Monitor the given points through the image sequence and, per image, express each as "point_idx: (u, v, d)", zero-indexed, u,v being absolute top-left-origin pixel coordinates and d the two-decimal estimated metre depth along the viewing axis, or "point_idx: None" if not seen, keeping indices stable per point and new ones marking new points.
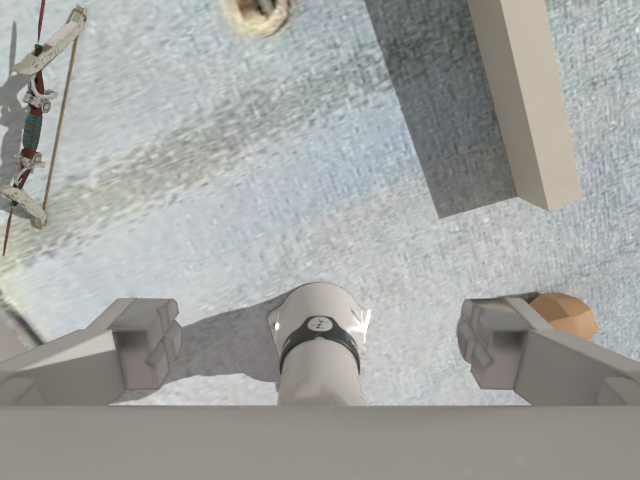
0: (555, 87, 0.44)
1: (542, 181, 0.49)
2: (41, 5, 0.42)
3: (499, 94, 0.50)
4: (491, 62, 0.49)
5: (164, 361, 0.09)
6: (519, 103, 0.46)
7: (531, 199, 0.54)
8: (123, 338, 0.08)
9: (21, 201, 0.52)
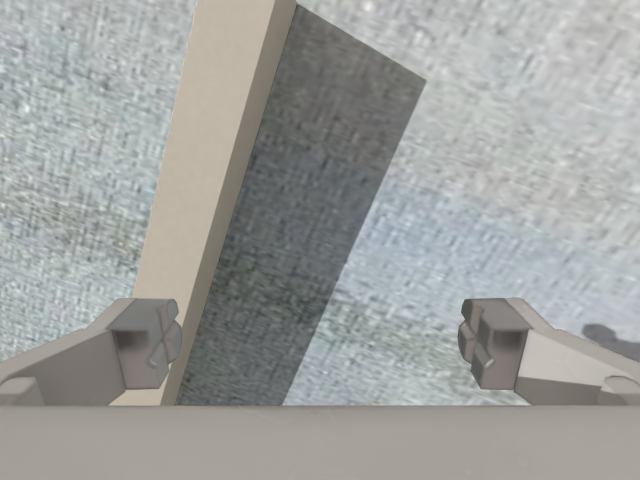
0: (166, 183, 0.27)
1: (260, 46, 0.23)
2: None
3: (234, 194, 0.33)
4: (220, 237, 0.34)
5: (164, 361, 0.09)
6: (222, 195, 0.28)
7: None
8: (123, 338, 0.08)
9: None
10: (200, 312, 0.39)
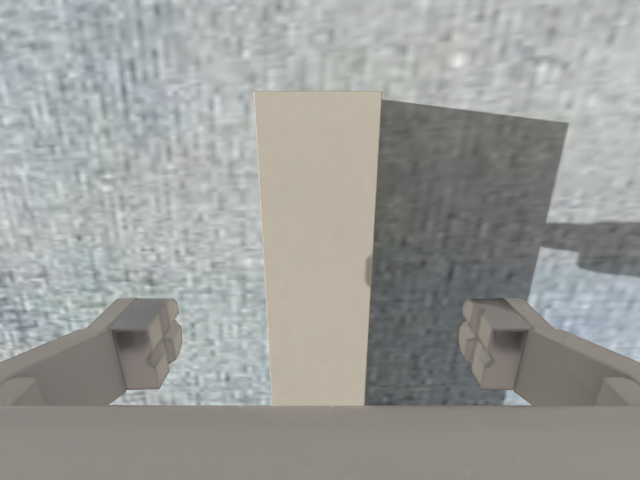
0: None
1: (372, 215, 0.14)
2: None
3: None
4: None
5: (164, 361, 0.09)
6: None
7: None
8: (123, 338, 0.08)
9: None
10: None
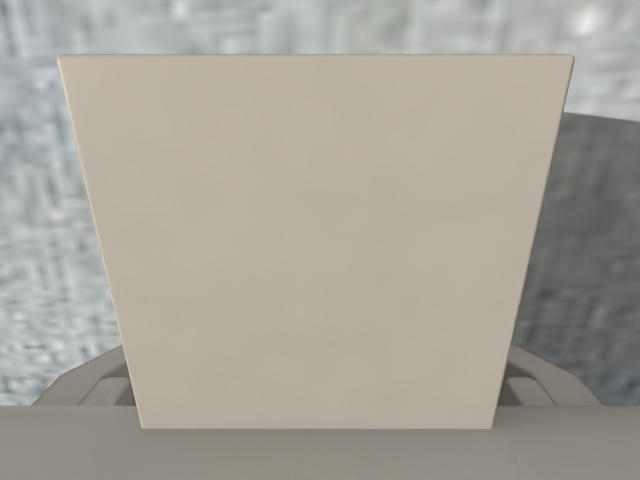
0: None
1: None
2: None
3: None
4: None
5: None
6: None
7: None
8: None
9: None
10: None
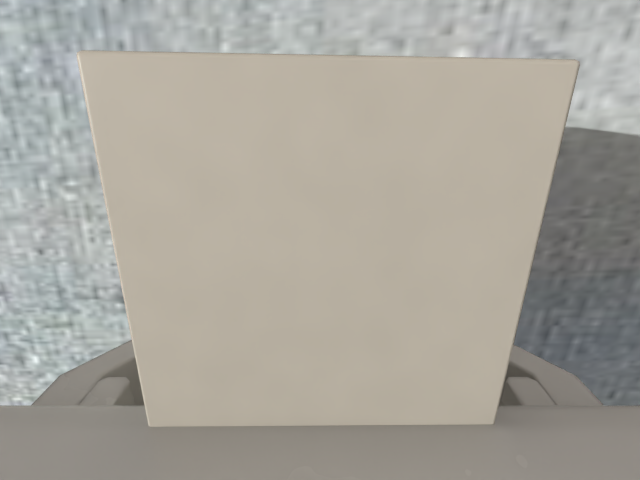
0: None
1: None
2: None
3: None
4: None
5: None
6: None
7: None
8: None
9: None
10: None
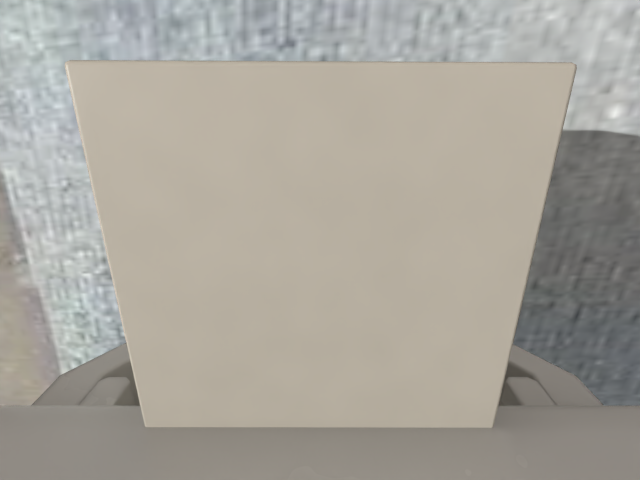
0: None
1: None
2: None
3: None
4: None
5: None
6: None
7: None
8: None
9: None
10: None
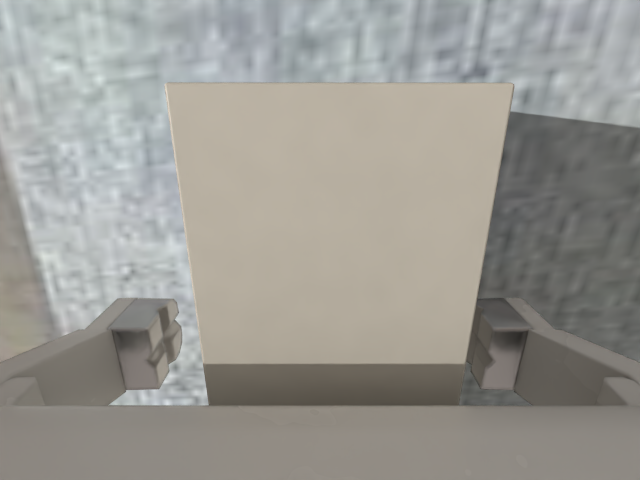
0: None
1: (460, 369, 0.06)
2: None
3: None
4: None
5: (164, 361, 0.09)
6: None
7: None
8: (123, 338, 0.08)
9: None
10: None
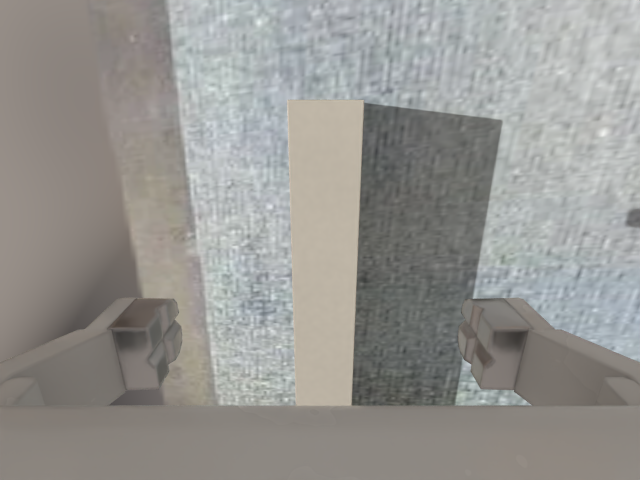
0: (302, 323, 0.27)
1: (359, 176, 0.23)
2: None
3: None
4: None
5: (164, 361, 0.09)
6: None
7: None
8: (123, 338, 0.08)
9: None
10: None
